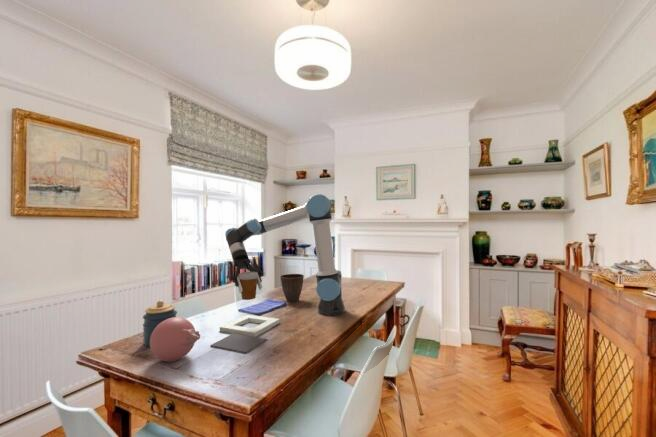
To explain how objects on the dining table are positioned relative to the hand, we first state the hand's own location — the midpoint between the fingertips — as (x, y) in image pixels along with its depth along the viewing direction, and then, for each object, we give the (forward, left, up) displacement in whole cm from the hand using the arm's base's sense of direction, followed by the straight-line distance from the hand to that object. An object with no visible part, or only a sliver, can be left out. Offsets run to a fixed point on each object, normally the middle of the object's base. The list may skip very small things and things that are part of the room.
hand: (251, 289), depth 145 cm
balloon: (+6, +36, -19) cm, 41 cm away
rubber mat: (-5, +15, -19) cm, 25 cm away
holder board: (+3, -3, -19) cm, 19 cm away
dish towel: (+16, -32, -19) cm, 40 cm away
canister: (+28, +26, -19) cm, 43 cm away
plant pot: (+8, -52, -19) cm, 56 cm away
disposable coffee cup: (+3, -2, -5) cm, 6 cm away
